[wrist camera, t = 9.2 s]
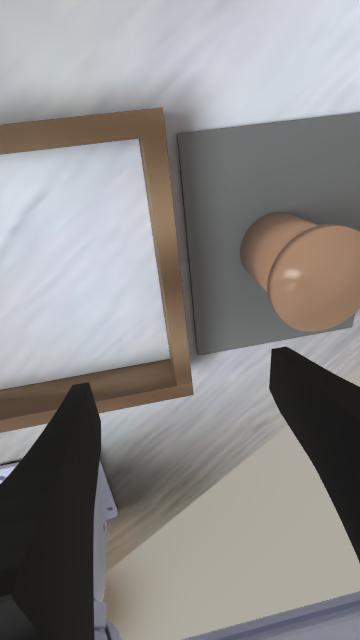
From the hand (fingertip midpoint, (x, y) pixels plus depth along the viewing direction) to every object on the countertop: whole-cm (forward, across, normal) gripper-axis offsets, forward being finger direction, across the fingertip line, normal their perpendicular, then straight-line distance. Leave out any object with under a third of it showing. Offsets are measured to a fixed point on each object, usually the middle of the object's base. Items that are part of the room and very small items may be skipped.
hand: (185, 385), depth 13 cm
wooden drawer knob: (+9, -8, -2) cm, 12 cm away
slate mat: (+9, -8, -2) cm, 12 cm away
